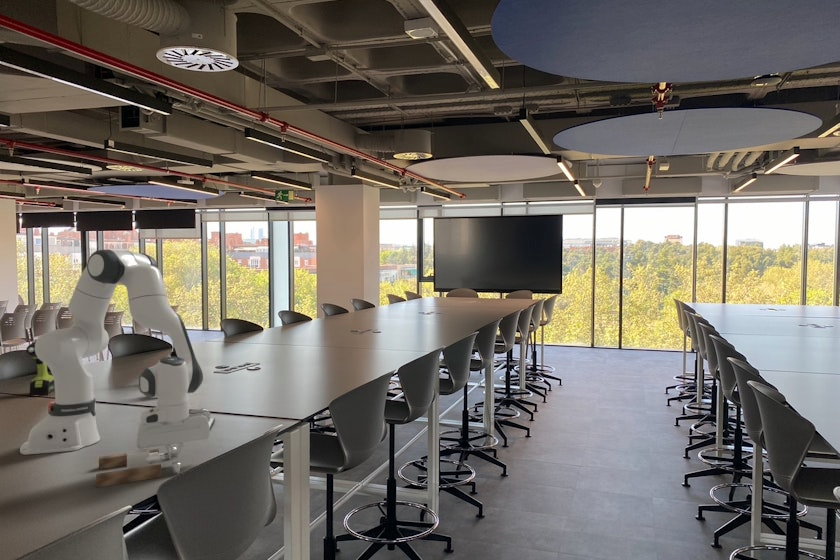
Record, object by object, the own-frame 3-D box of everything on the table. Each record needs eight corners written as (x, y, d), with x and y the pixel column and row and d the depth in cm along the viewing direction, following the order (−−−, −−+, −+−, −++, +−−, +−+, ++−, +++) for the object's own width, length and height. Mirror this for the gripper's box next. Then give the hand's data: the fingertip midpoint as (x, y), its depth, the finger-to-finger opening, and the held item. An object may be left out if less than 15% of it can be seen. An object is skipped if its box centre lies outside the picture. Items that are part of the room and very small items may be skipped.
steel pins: (173, 475, 161) (172, 464, 161) (169, 456, 176) (169, 447, 176) (180, 473, 162) (180, 463, 162) (176, 455, 177) (176, 446, 177)
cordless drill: (40, 401, 248) (38, 344, 247) (21, 402, 245) (19, 344, 245) (55, 389, 270) (54, 337, 269) (38, 390, 267) (37, 338, 267)
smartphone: (209, 435, 201) (215, 421, 216) (209, 430, 201) (215, 417, 216) (182, 436, 199) (191, 423, 215) (182, 432, 199) (191, 418, 215)
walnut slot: (96, 487, 153) (96, 476, 153) (99, 467, 168) (99, 457, 168) (161, 476, 160) (161, 466, 160) (158, 458, 175) (158, 448, 175)
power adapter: (168, 463, 171) (168, 444, 170) (169, 468, 166) (169, 448, 166) (126, 469, 165) (126, 450, 165) (127, 475, 161) (126, 455, 161)
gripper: (208, 405, 177) (209, 449, 177) (135, 413, 167) (136, 460, 167) (211, 410, 171) (212, 455, 171) (135, 419, 161) (136, 467, 162)
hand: (174, 457), depth 169 cm, fingers closed
